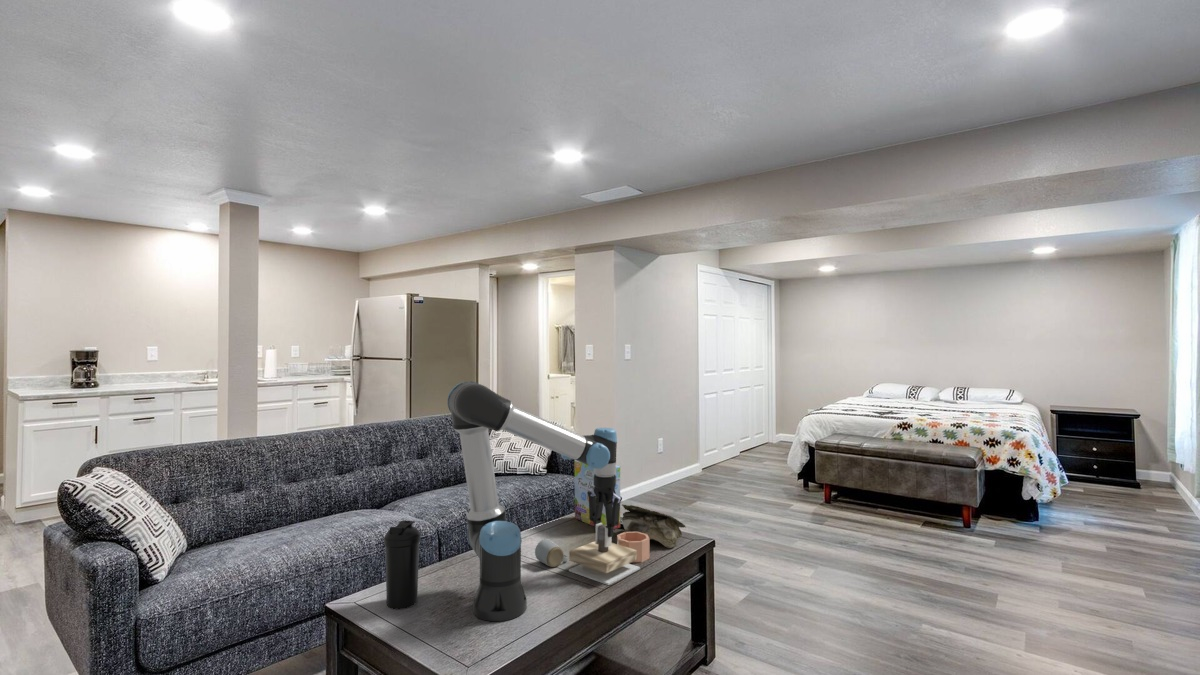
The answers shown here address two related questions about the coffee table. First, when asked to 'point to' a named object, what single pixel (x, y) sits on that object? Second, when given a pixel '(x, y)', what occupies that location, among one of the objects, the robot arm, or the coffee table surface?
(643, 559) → the bowl
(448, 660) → the coffee table surface
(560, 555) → the ceramic mug
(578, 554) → the lid
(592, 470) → the snack box
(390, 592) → the water bottle
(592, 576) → the mat
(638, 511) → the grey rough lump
